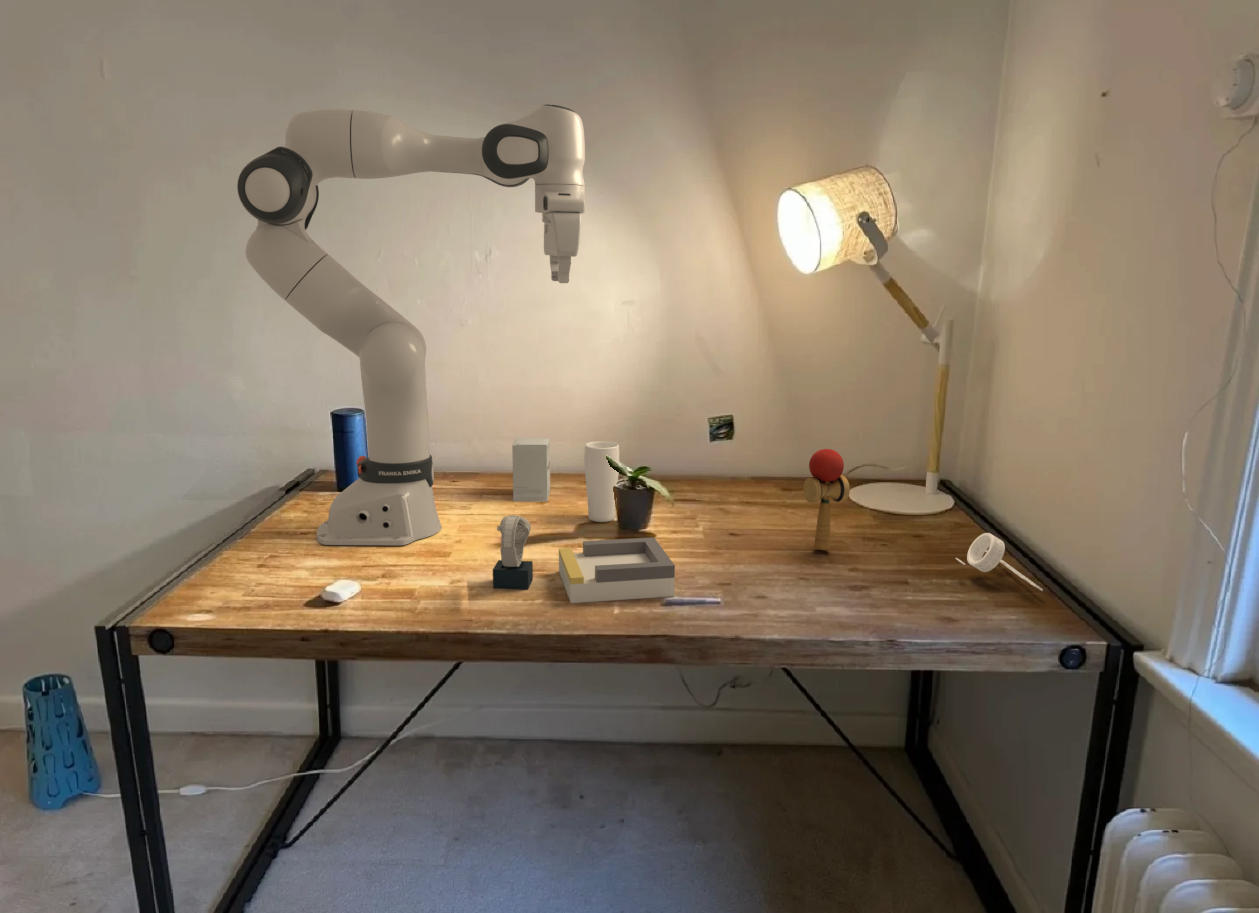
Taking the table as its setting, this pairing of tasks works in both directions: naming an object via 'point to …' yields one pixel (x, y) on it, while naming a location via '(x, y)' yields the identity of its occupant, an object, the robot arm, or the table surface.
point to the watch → (513, 555)
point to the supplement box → (531, 469)
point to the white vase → (600, 480)
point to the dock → (612, 587)
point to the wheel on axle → (989, 555)
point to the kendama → (825, 490)
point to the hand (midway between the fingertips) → (559, 282)
